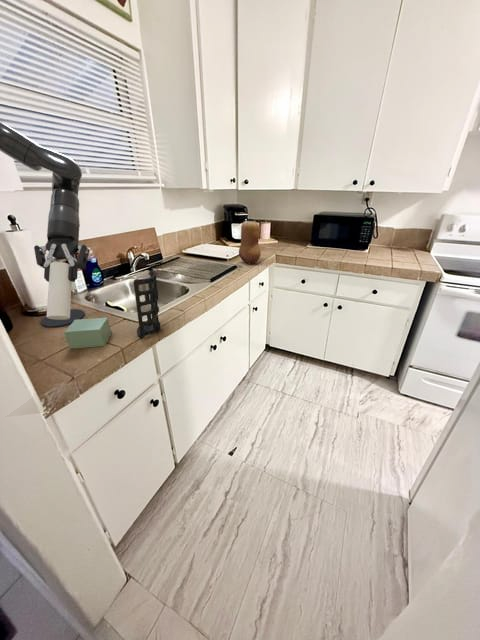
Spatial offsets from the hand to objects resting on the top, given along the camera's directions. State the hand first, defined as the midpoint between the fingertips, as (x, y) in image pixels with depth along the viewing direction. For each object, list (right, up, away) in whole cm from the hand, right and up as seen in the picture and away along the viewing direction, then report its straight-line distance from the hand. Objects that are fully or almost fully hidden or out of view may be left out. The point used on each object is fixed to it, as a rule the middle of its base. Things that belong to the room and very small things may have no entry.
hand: (60, 281), depth 72 cm
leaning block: (+2, -17, +12) cm, 21 cm away
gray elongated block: (0, -9, +3) cm, 9 cm away
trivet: (-17, -10, +26) cm, 32 cm away
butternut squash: (+56, +25, +92) cm, 111 cm away
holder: (+19, -14, +18) cm, 30 cm away
